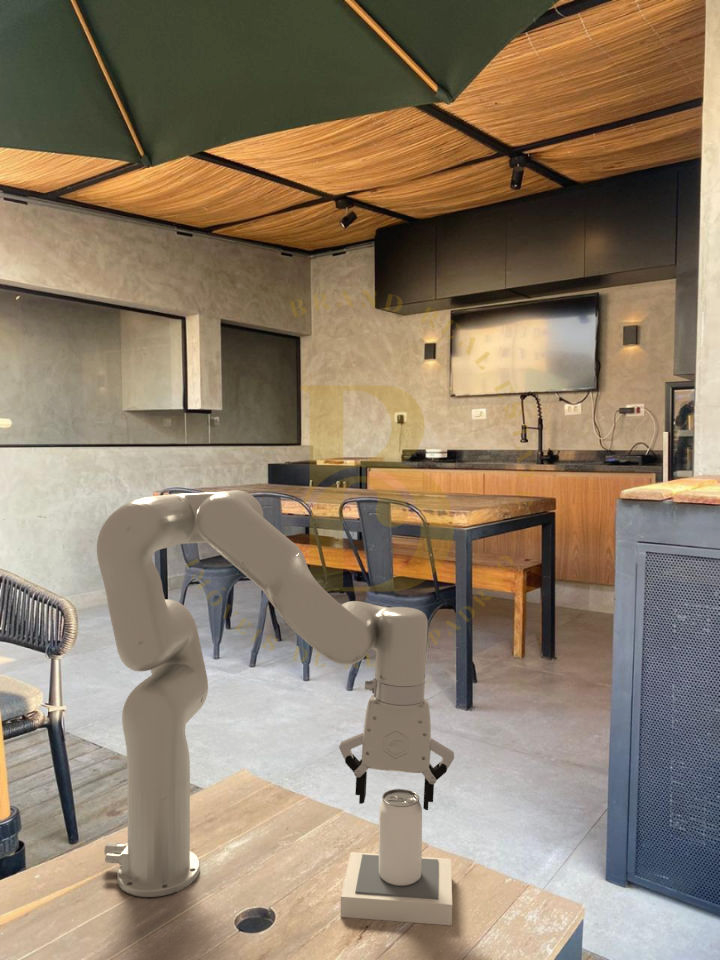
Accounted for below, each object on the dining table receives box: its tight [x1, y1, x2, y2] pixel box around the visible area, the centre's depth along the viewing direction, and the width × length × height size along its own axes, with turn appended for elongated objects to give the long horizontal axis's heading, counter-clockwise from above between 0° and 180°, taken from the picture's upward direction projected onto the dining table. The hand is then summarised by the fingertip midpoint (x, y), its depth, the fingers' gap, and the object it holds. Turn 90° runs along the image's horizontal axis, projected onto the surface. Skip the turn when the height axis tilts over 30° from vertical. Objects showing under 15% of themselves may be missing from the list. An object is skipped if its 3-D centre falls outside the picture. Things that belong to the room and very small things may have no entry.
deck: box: [340, 851, 453, 926], centre depth 111 cm, size 16×12×3 cm
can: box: [378, 788, 423, 886], centre depth 111 cm, size 6×6×12 cm
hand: (394, 802), depth 111 cm, fingers open, 9 cm apart
